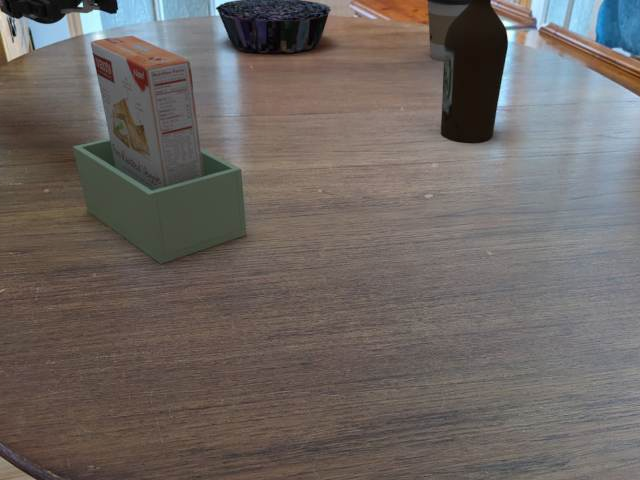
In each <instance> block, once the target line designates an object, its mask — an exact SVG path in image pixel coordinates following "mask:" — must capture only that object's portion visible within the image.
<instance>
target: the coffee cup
mask: <svg viewBox="0 0 640 480" xmlns="http://www.w3.org/2000/svg"><path fill="white" fill-rule="evenodd" d="M426 1H427V11H428V35H429V36H428V37H429V53H430V57H431V59H433V60H435V61H436V60H437V61H442V62H444V43H445V37H446V34H447V31H448V28H449V26H450V25H451V23H452V22H453V21H454V20H455V19H456V18H457V17H458V16H459V15H460V13H461V12H462V11H463V10H464V9H465V8H466V7H467V6H468V5H469V4H470V1H471V0H426Z"/></svg>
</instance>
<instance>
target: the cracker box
mask: <svg viewBox="0 0 640 480" xmlns="http://www.w3.org/2000/svg"><path fill="white" fill-rule="evenodd" d="M90 48H91V52H92V57H93V62H94V67H95V72H96V77H97V83H98V86H99V91H100V96H101V102H102V107H103V111H104V112H103V113H104V117H105V122H106V126H107V132H108V137H109V139H110V142H111V147H112V152H113V157H114V162H115V167H116V169H118V170H119V171H121V172H123V173H124V174H126V175H127V176H129V177H131V178H132V179H134V180H136V181H137V182H139V183H140V184H142V185H144V186H145V187H147V188H148V189H150V190H156V189H160V188H163V187H167V186H171V185H174V184H178V183H182V182H185V181H189V180H193V179H196V178H200V177H203V176H204V173H203V165H202V157H201V149H202V147H201V142H200V134H199V124H198V117H197V108H196V100H195V91H194V84H193V76H192V75H193V74H192V68H191V61H190V59H187V58H185V57H182V56H180V55H178V54H175V53H173V52H171V51H169V50H166V49H164V48H161V47H159V46H157V45H155V44H152V43H151V42H148V41H146V40H143V39H141V38H139V37H137V36H134V35H126V36H118V37H107V38H101V39H95V40H93V41H90Z"/></svg>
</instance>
